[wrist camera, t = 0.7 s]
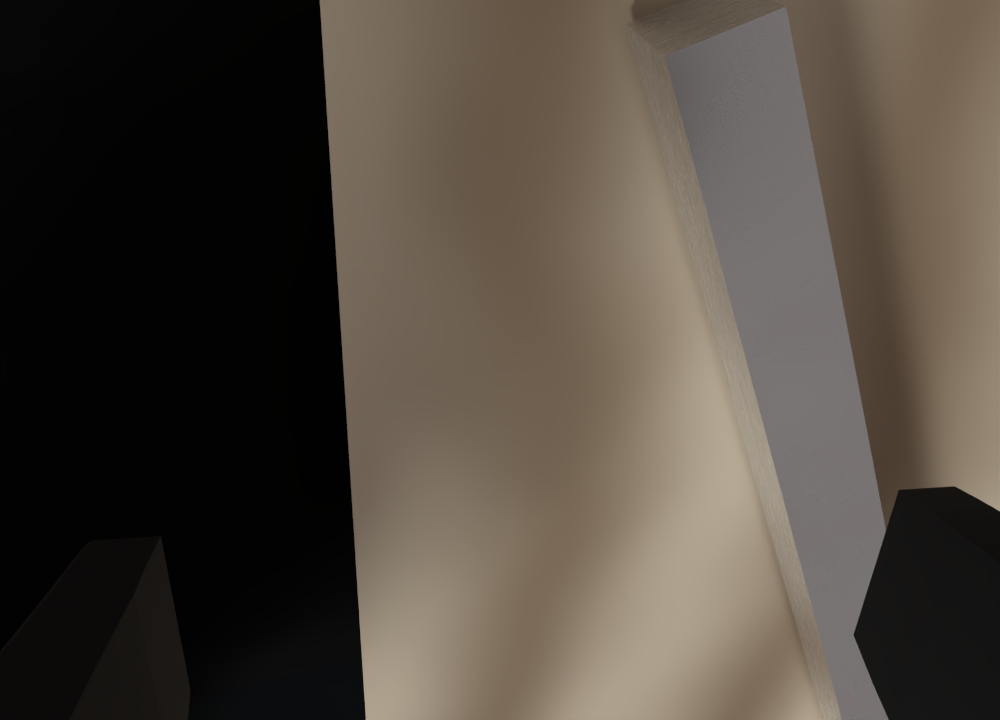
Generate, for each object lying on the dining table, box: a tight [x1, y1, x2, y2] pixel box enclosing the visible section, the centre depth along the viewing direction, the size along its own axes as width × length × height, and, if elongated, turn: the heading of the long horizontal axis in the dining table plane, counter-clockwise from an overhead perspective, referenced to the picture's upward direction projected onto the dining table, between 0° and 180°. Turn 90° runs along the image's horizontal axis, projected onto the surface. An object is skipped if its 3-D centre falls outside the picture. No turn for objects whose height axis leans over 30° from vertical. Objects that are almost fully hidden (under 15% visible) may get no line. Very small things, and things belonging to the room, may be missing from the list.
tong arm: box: [626, 0, 889, 720], centre depth 18 cm, size 3×22×2 cm, turn 20°
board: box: [320, 0, 1000, 720], centre depth 20 cm, size 19×28×1 cm
